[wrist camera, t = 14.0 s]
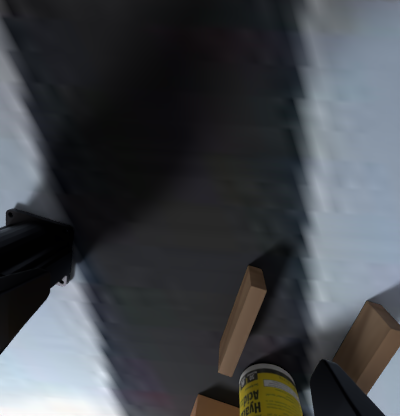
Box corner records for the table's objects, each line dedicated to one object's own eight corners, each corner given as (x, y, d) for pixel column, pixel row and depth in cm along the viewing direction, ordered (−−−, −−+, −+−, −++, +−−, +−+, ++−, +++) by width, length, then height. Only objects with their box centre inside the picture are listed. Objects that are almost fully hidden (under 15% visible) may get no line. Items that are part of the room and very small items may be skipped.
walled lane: (219, 342, 22) (218, 372, 19) (248, 265, 19) (251, 285, 16) (335, 380, 21) (351, 417, 18) (381, 305, 19) (408, 333, 16)
